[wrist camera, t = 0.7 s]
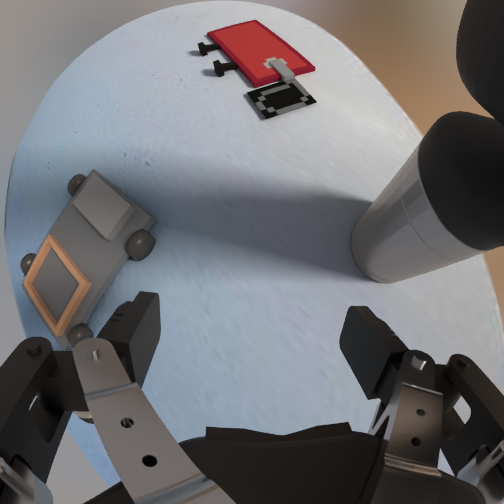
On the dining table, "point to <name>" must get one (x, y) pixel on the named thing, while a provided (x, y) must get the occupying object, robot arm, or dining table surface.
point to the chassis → (84, 256)
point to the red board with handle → (263, 65)
